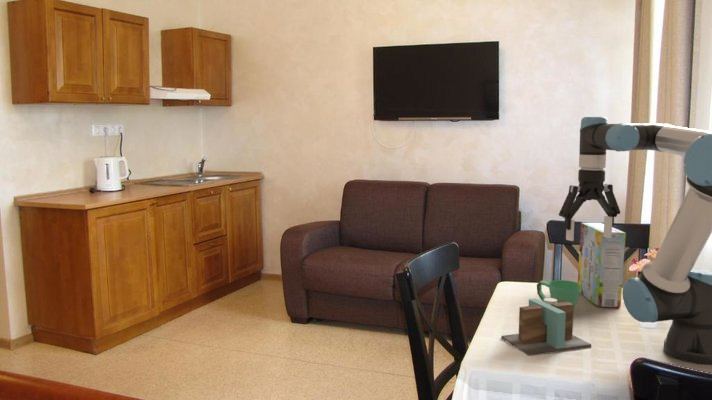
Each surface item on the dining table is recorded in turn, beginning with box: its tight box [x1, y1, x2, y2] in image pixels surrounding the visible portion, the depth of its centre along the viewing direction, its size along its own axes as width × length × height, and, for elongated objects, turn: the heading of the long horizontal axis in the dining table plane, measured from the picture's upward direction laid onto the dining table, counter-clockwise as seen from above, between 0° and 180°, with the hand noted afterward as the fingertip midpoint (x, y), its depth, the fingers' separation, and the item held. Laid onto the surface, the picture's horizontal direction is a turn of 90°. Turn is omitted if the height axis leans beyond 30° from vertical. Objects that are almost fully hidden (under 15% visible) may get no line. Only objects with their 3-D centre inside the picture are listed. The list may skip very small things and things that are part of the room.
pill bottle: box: [543, 297, 557, 305], centre depth 194 cm, size 5×5×8 cm
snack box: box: [577, 222, 627, 308], centre depth 222 cm, size 22×9×26 cm, turn 179°
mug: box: [536, 279, 581, 311], centre depth 208 cm, size 15×10×10 cm
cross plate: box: [528, 298, 566, 349], centre depth 180 cm, size 14×2×10 cm, turn 18°
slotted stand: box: [500, 302, 592, 356], centre depth 180 cm, size 14×20×11 cm
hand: (588, 239), depth 193 cm, fingers open, 13 cm apart
